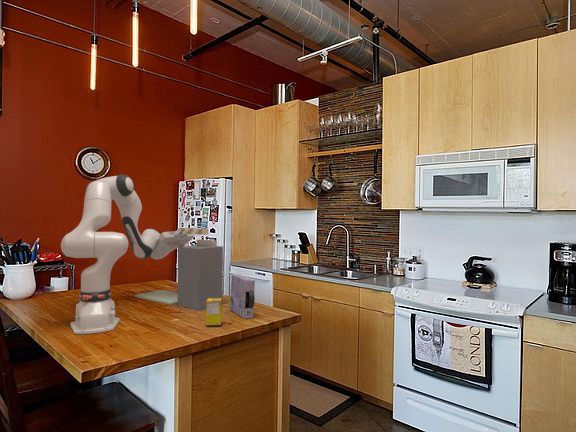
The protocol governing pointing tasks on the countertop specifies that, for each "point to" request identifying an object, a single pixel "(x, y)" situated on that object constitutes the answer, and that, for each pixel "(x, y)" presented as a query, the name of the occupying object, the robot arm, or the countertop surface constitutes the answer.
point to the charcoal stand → (199, 275)
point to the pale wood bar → (207, 243)
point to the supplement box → (214, 312)
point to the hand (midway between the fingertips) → (184, 229)
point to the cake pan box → (242, 296)
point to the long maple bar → (194, 231)
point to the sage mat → (160, 297)
